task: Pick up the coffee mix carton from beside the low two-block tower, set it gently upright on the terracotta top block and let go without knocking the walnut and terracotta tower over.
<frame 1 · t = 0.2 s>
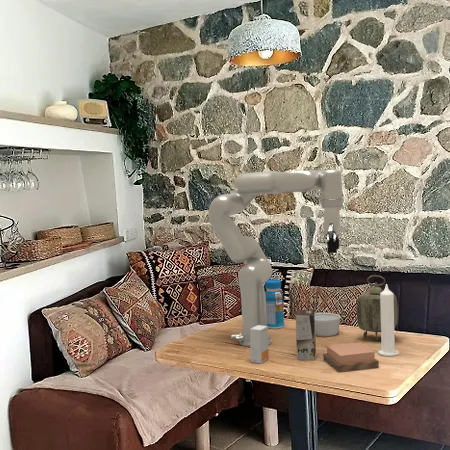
hand: (333, 250, 217), 37 cm above the table, tool pointing down, fingers open, 9 cm apart
beverage bottle: (274, 327, 257), on the table
coffee box: (306, 356, 213), on the table
skincare box: (260, 361, 211), on the table
tabletop clock: (377, 339, 230), on the table
candle: (388, 354, 212), on the table
ramekin: (324, 333, 243), on the table
tower base block: (350, 365, 203), on the table, touching tower top block
tower top block: (350, 357, 202), point 2 cm above the table, touching tower base block
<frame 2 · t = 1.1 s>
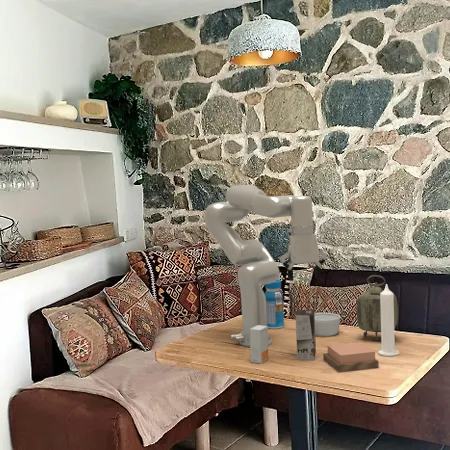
hand: (304, 279, 211), 28 cm above the table, tool pointing down, fingers open, 9 cm apart
nothing on the table moved.
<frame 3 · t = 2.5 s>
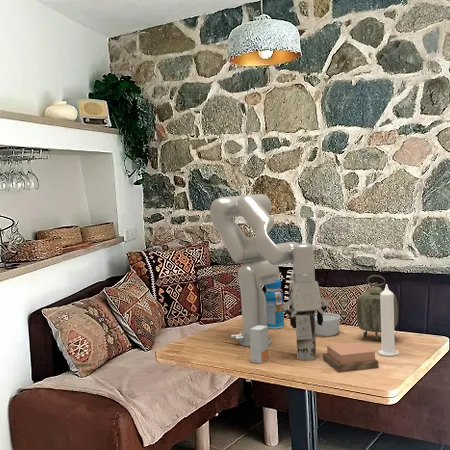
hand: (306, 326, 212), 11 cm above the table, tool pointing down, fingers open, 9 cm apart
nothing on the table moved.
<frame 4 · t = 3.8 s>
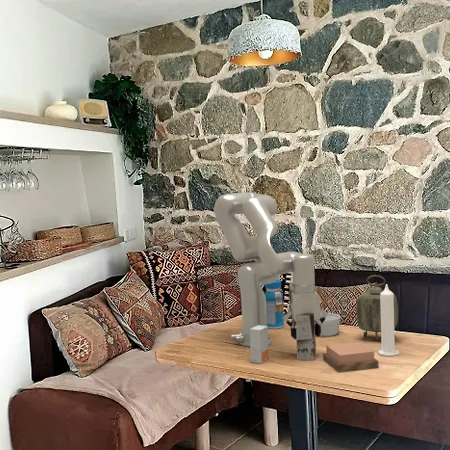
hand: (306, 336, 213), 7 cm above the table, tool pointing down, fingers closed on coffee box, 8 cm apart
coffee box: (306, 356, 213), on the table, touching gripper
everything else where it was.
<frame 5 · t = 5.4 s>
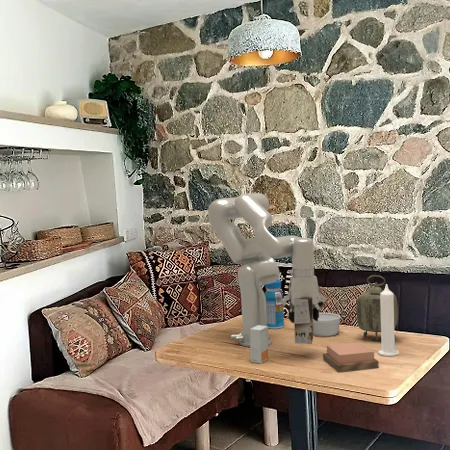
hand: (303, 320, 213), 13 cm above the table, tool pointing down, fingers closed on coffee box, 8 cm apart
coffee box: (304, 340, 214), point 5 cm above the table, touching gripper
everything else where it was.
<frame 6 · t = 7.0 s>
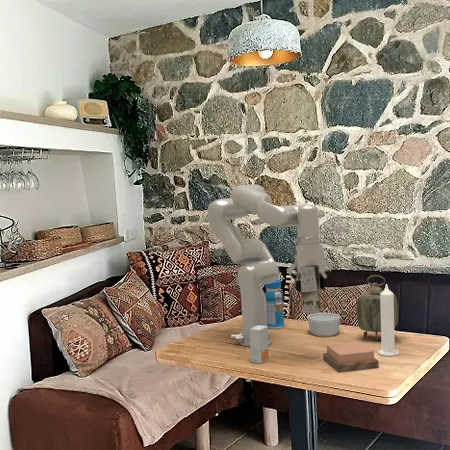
hand: (310, 290, 210), 24 cm above the table, tool pointing down, fingers closed on coffee box, 8 cm apart
coffee box: (311, 310, 210), point 17 cm above the table, touching gripper
tower base block: (350, 365, 203), on the table
tower top block: (350, 356, 203), point 2 cm above the table
everything else where it was.
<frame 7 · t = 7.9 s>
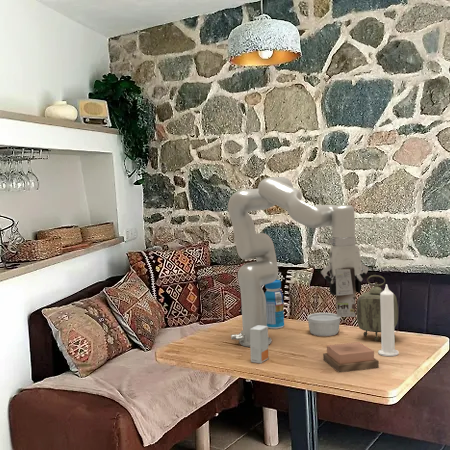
hand: (345, 293, 201), 24 cm above the table, tool pointing down, fingers closed on coffee box, 8 cm apart
coffee box: (346, 314, 202), point 17 cm above the table, touching gripper
everything else where it was.
when the fingers open (13 cm above the table, at t = 11.4 s): coffee box drops 1 cm, resting on tower top block.
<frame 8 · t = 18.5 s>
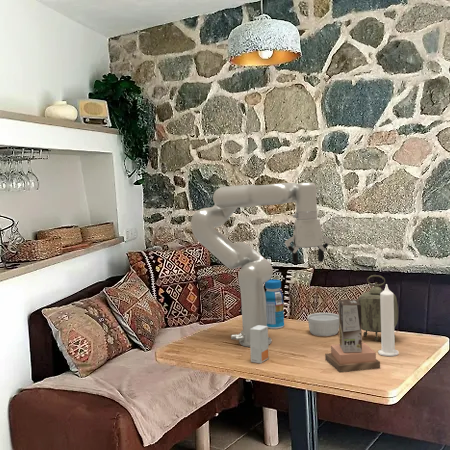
hand: (308, 262, 220), 32 cm above the table, tool pointing down, fingers open, 9 cm apart
coffee box: (350, 349, 202), point 5 cm above the table, touching tower top block
tower base block: (352, 366, 203), on the table, touching tower top block
tower top block: (352, 357, 203), point 2 cm above the table, touching coffee box, tower base block
everything else where it was.
at the end: coffee box inside the target area on the tower top block (0.7 cm from its centre), point 2.8 cm above the tower top block's base; coffee box tilted 1°; tower top block 0.5 cm off-centre on the tower base block, point 3.0 cm above the tower base block's base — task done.
